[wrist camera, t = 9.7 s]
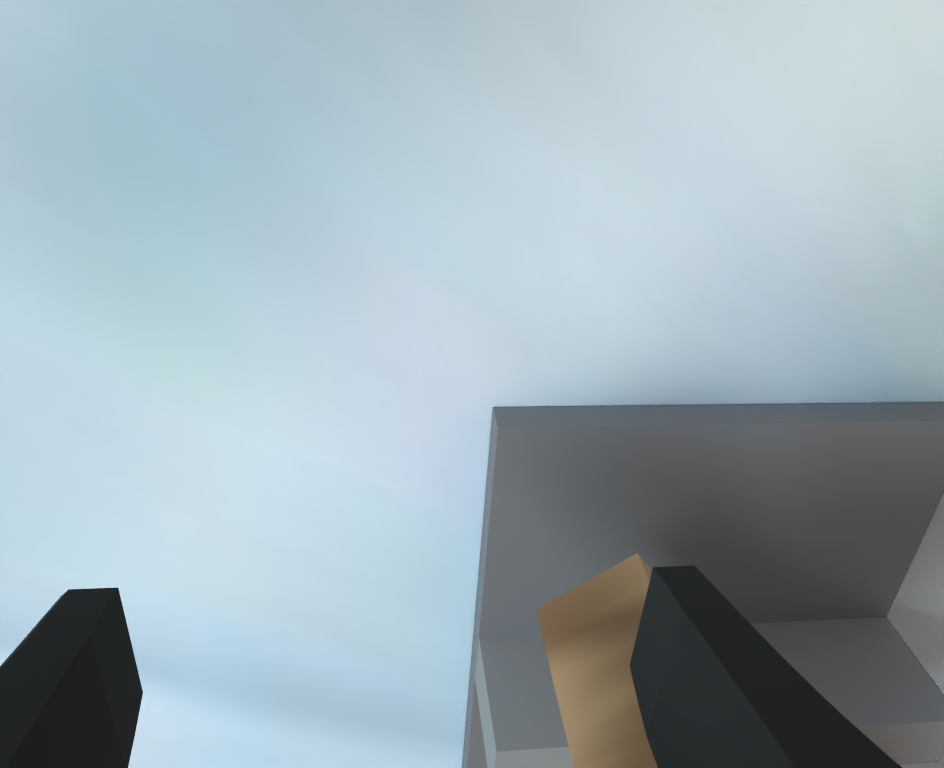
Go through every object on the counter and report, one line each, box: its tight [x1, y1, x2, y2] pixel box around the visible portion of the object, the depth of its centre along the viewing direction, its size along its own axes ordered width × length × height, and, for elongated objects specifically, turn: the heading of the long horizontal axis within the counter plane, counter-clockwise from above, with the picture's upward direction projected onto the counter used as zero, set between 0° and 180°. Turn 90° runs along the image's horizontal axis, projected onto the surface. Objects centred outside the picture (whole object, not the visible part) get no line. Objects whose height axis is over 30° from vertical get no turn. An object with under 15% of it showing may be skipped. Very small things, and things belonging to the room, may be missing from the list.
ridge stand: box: [462, 402, 944, 768], centre depth 25 cm, size 14×18×5 cm
